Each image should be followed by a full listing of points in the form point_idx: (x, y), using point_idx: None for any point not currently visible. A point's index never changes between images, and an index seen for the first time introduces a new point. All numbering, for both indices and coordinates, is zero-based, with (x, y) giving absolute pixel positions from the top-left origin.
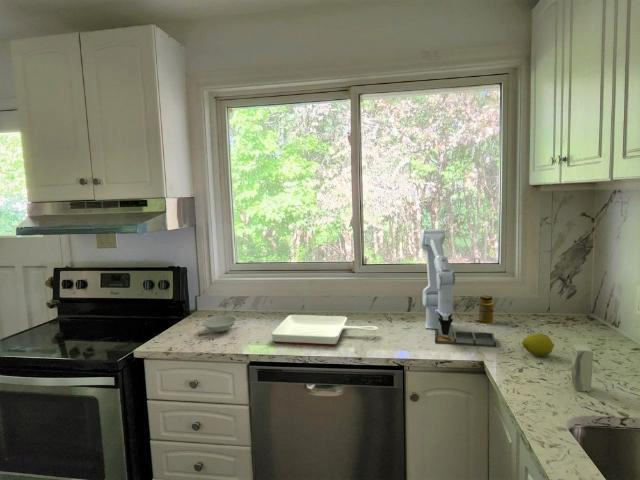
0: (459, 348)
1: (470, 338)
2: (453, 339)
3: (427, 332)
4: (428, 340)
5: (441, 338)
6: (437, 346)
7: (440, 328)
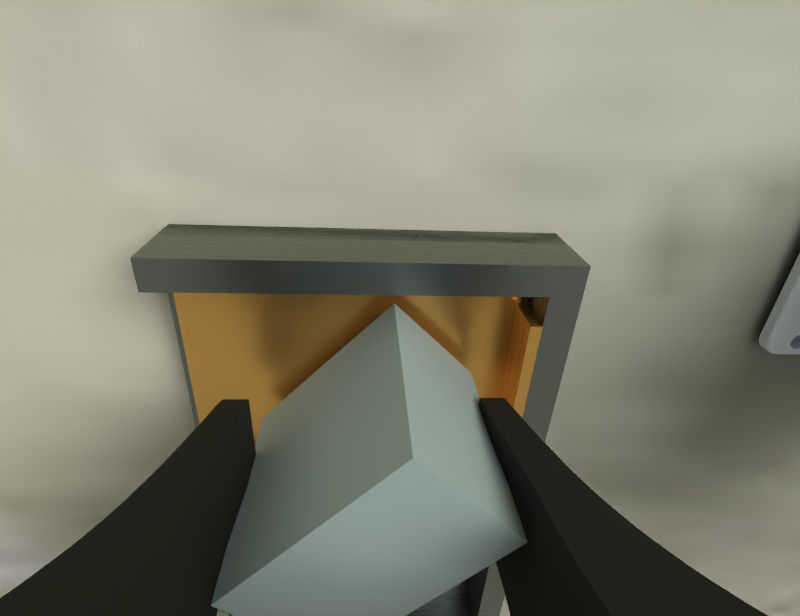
0: (88, 486)
1: None
2: None
3: (680, 104)
4: (256, 118)
5: (284, 333)
6: (22, 259)
7: (363, 410)
